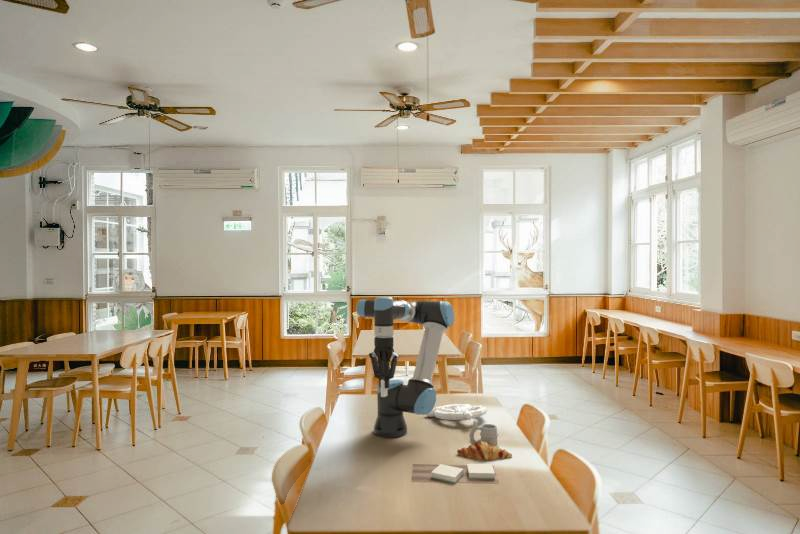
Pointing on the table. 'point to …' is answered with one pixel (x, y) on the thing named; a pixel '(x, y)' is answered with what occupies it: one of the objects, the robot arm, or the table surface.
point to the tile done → (480, 471)
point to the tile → (447, 473)
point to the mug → (484, 434)
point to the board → (424, 475)
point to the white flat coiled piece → (457, 412)
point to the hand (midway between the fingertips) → (384, 396)
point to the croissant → (484, 452)
